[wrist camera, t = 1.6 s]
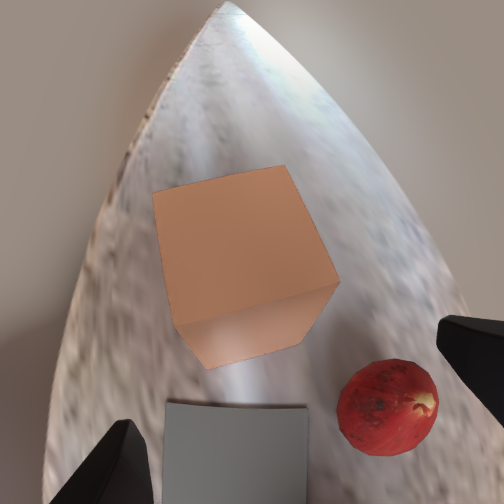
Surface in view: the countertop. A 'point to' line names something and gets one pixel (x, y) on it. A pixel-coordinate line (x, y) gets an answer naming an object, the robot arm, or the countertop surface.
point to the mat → (234, 455)
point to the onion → (388, 407)
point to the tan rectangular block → (241, 264)
